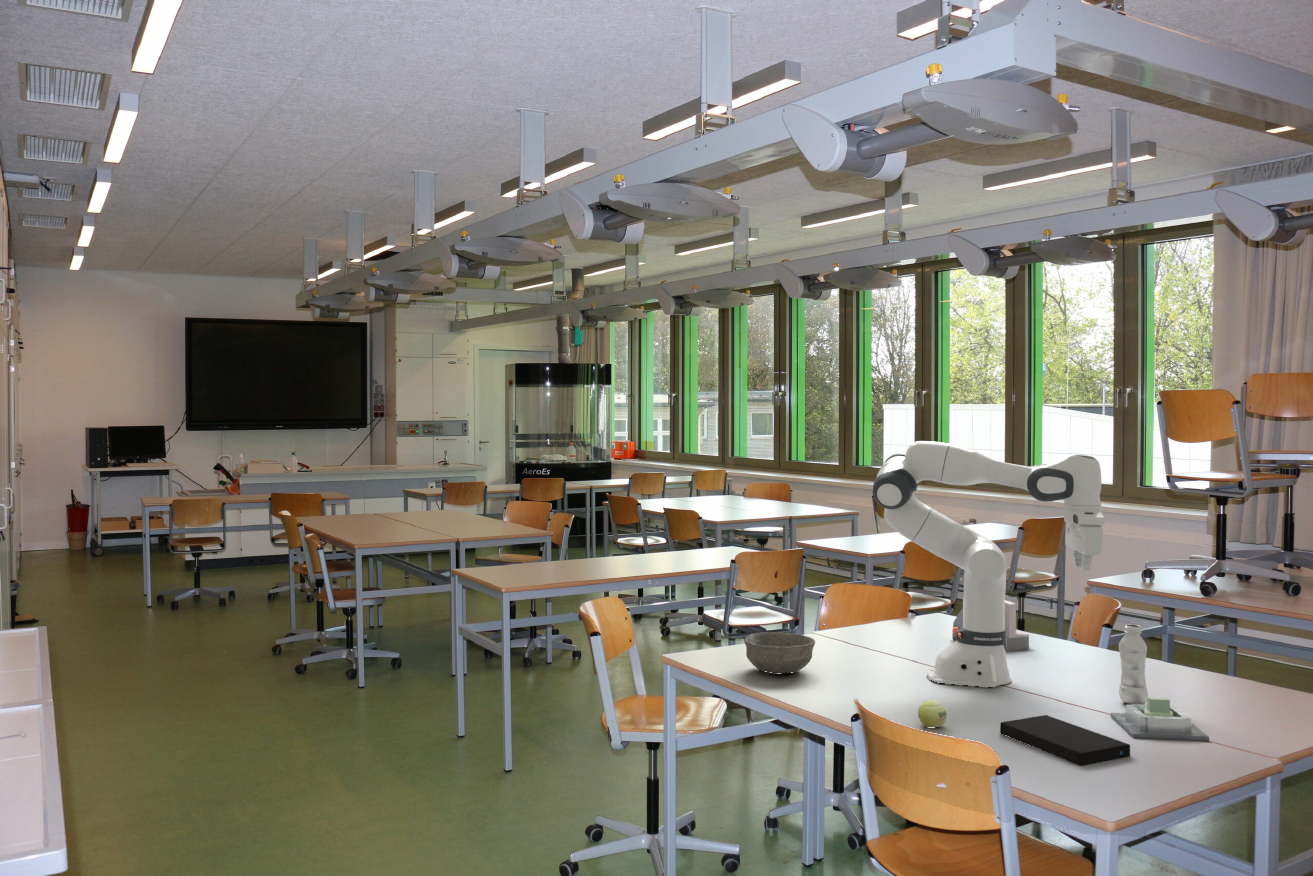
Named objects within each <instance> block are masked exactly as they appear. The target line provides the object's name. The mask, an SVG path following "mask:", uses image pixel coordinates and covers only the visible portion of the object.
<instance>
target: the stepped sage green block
mask: <svg viewBox="0 0 1313 876" xmlns="http://www.w3.org/2000/svg"><path fill="white" fill-rule="evenodd" d="M1146 705H1147V708H1145V709H1144V715H1145V716H1165V717H1173V712H1172V711H1170V706H1171V700H1170V698H1169V697H1159V696H1158V697H1154V696H1152V697H1151V696H1148V697H1147V702H1146Z"/></svg>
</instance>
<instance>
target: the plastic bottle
mask: <svg viewBox="0 0 1313 876" xmlns="http://www.w3.org/2000/svg"><path fill="white" fill-rule="evenodd" d="M1123 631H1124V633H1125V634H1124V636H1123V637H1122V638H1121V640H1119V643H1118V651H1119V656H1120V657H1119V658H1120V666H1121V668H1120V669H1121V675H1120V684H1119V690H1118V694H1119V699H1120V700H1121V702H1123V703H1124V704H1126V705H1132V704H1147V697H1149V693H1148V688H1147V683H1146V660H1147V653H1148V647H1147V643H1146V642H1145V640H1144V639H1143V638H1142V636H1141V634H1142V626H1141V625H1137V624H1132V623H1131V624H1129V623H1128V624H1125V625H1124V630H1123Z"/></svg>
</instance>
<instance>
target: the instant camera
mask: <svg viewBox="0 0 1313 876" xmlns="http://www.w3.org/2000/svg"><path fill="white" fill-rule="evenodd" d="M1015 603H1016V602H1012V601H1009V600H1006V599H1005V630H1006V634H1007V647H1006V650H1008V651H1019V650H1020V649H1024V650H1029V649H1030V634H1029V633H1028V632H1026V631H1022V630H1019V629H1017V605H1016V604H1015ZM954 627H958V629H960V628H962V627H963V607H962V608H961V610H960V611H959V612H958V614H957V616H956V617H955V619H954V621H953V624H952V630H953V629H954ZM952 639H953V640H955V641H956V635H955V634H954V633H953V632H952ZM953 640H952V641H953ZM955 641H954V642H955ZM1028 648H1029V649H1028Z"/></svg>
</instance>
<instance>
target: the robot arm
mask: <svg viewBox="0 0 1313 876" xmlns="http://www.w3.org/2000/svg"><path fill="white" fill-rule="evenodd" d="M1101 472H1102V471H1101V465H1100V461H1098V459H1096V458H1095V457H1093V456H1090V455H1087V454H1081V453H1076V452H1075V453H1074V452H1072V453H1068V454H1067V455H1066V456H1064V457H1062V458H1060V459H1058V460H1056V461H1053V462H1051V463H1041V464H1037V465H1032V466H1031V465H1030V466H1028V465H1020V464H1015V463H1010V462H1005V461H999V460H995V459H993V458H990V457H988V456H985V455H984V454H981V453H980V452H977V451H975V450H973V449H969V448H967V447H964V446H961V445H957V444H954V443H952V444H951V443H947V442H942V441H940V442H939V441H929V440H918V441H914V442H912V443H911V444H910V445H909V446H908V448H907V449H906V451H905V452H898V453H894V454H892V455H890V456H889V457H888V458H887V459H886V460H885V461H884V462H883V464H882V465H881V467H880V468H879V470H878V472H877V475H876V478H875V480H874V482H873V484H872V494H873V498H874V500H875V501H876V503H877V504H878V505H879V506H880V507H882V508H883V509H884V511H883V518H884V521H885V523H887V524H888V526H890V527H891V528H892V529H894V530H895V531H896V532H897V533H899V534H900V535H902V536H903V537H904V538H906V539H907V540H908V541H910V542H913V543H914V544H916V545H918V546H919V547H921V548H923V549H924V550H926V551H927V552H930V553H932V555H935V556H936V557H939V558H941V559H943V560H945V561H947V562H948V563H951V564H953V565H954V566H956V567H959V568H960V569H962V570H964V571H963V572H964V573H963V577H964V578H963V598H962V608H963V627H962V628H960V629H958V627H954V629H953V628H952V629H951V631H952V632H953V633H954V634H955V635H956V641H953V643H951V644H949V645H948V646H947V647H945V648H944V649H942V650H941V651H939V653H938V654H937V656H936V659H935V662H934V663H935V664H934V667H932V668H929V669H928V670H927V672H926V677H927V676H928V677H927V678H928V679H929V681H931V680H932V681H931V682H933V681H934V682H933V683H935V682H937V683H936V684H939V683H945V684H944V685H951V684H955V685H954V686H963V685H968V686H967V687H975V686H979V688H988V687H993V688H996V687H998V686H1003V685H1007V684H1009V683H1011V682H1012V678H1011V675H1010V672H1009V666H1008V662H1007V653H1006V652H1007V651H1006V647H1007V634H1006V630H1005V600H1006V588H1007V567H1008V565H1007V558H1006V555H1005V554H1004V552H1003V550H1001V549H1000V547H998V545H997V544H996V542H994V541H992V540H990V539H988V538H987V537H985V536H984V535H981V534H979V533H977V532H976V531H974V530H972V529H970V528H969V527H966V526H964V525H962V524H960V523H959V522H956V521H955V520H953V519H951V518H950V517H948V516H946V515H944V514H943V513H941V512H939V511H937V510H936V509H934V508H933V507H930V506H929V505H927V504H925V503H923V502H922V501H920V499H918V498H917V496H916V495H915V494H916V493H915V492H916V491H917V489H918V484H919V483H921V482H922V481H923V482H924V481H932V482H936V483H941V484H946V485H950V486H951V485H952V486H972V485H976V484H977V485H979V484H985V483H987V484H989V483H990V484H997V485H1002V486H1007V487H1012V488H1016V489H1021V490H1024V491H1027V492H1028V493H1029V494H1030V496H1031V497H1032V498H1033V499H1035V500H1036V501H1037V502H1038V501H1039V502H1041V503H1052V502H1055V501H1060V500H1063V501H1064V503H1063V507H1064V508H1063V510H1064V511H1063V512H1064V513H1063V514H1064V515H1063V516H1064V517H1063V521H1064V522H1065V532H1064V533H1065V536H1064V538H1065V539H1064V540H1065V541H1064V542H1065V546H1066V547H1067V548H1070V549H1072V555H1073V561H1074V562H1073V564H1074V566H1075V567H1076V568H1081V570H1082V571H1083V572H1084V571H1086V572H1089V571H1090V570H1091V562H1092V560H1093V556H1096V557H1098V556H1100V555H1101V552H1102V548H1103V547H1102V546H1103V536H1104V535H1103V534H1104V532H1103V531H1104V530H1103V527H1104V526H1105V525H1106V519H1105V516H1104V515H1103V511H1102V501H1101V495H1100V494H1101V492H1102V473H1101Z"/></svg>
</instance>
